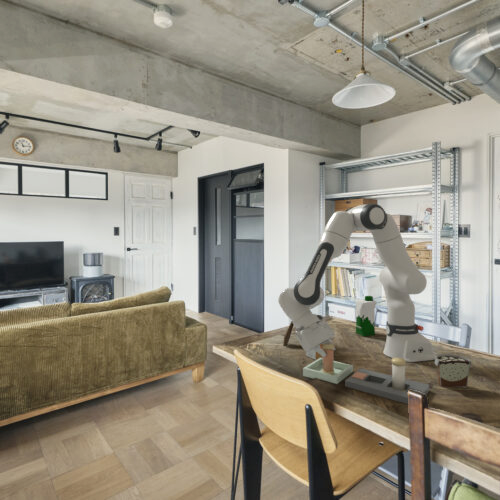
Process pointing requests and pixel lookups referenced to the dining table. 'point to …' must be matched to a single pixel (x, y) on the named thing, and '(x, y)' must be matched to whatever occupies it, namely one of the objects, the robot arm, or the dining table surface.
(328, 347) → the marked fuse
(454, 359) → the food container
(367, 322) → the milk carton
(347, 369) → the tray
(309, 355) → the small box
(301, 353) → the dining table surface
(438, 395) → the dining table surface
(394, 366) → the cylinder
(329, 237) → the robot arm
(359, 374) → the block
